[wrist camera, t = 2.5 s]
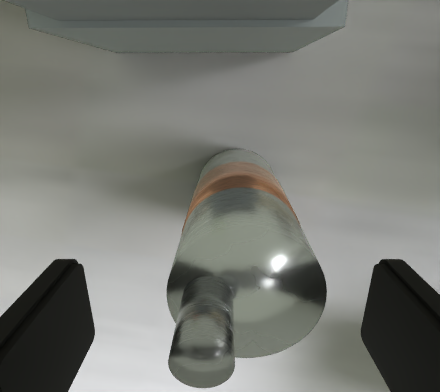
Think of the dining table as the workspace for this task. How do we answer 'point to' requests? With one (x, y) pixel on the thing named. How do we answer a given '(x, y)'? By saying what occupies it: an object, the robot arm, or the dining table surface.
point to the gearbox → (188, 23)
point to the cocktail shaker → (239, 272)
